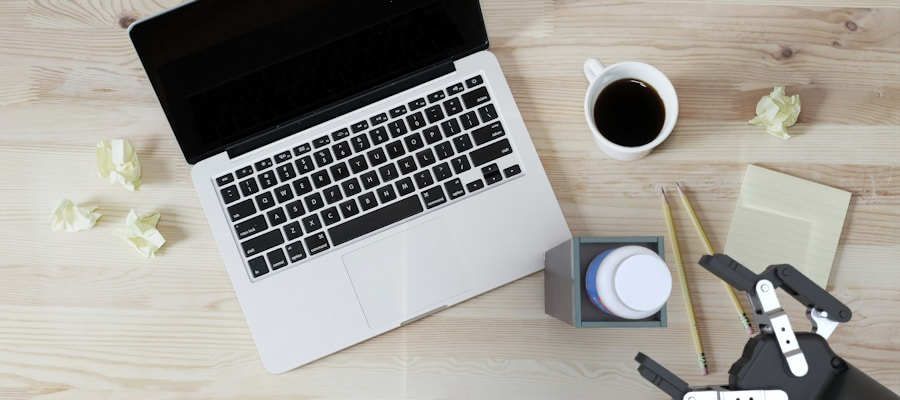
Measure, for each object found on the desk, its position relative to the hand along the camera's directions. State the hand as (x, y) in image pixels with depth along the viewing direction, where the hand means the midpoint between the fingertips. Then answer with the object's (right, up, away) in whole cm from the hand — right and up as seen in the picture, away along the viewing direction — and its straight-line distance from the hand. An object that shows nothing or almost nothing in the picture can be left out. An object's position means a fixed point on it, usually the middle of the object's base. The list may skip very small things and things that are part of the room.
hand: (670, 307), depth 54 cm
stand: (-1, -2, +34) cm, 34 cm away
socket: (-2, +1, +7) cm, 8 cm away
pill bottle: (-2, +1, +8) cm, 8 cm away
